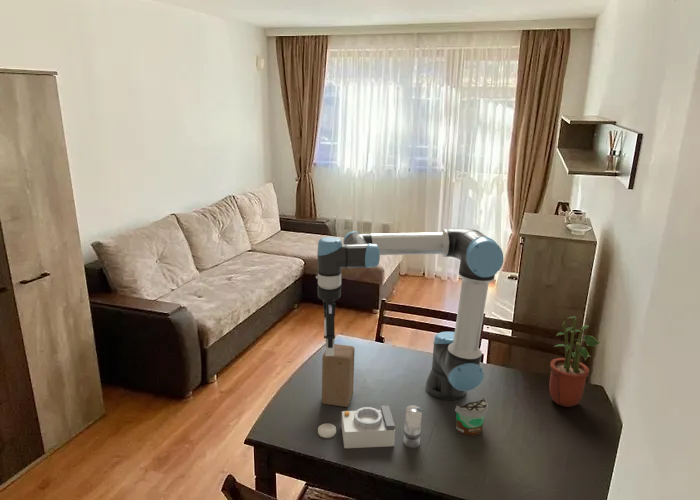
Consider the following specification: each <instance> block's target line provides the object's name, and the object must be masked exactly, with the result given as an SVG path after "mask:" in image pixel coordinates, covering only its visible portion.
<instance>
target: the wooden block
mask: <svg viewBox="0 0 700 500" xmlns="http://www.w3.org/2000/svg"><path fill="white" fill-rule="evenodd" d="M355 353H356V351H355V347H354V346H352V345H345V344H344V345H343V344H338V343H337V344H336V343H334V356H326V349H325V350H324V352H323V354H322V358H321V360H322V361H321V363H322V364H321V384H322V385H321V403H322V404H323V405H329V406H334V407H335V406H336V407H344V408H347V407H349V405H350V403H351V400H352V397H353V394H354V384H355V383H354V379H355V376H354V375H355Z"/></svg>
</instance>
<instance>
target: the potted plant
mask: <svg viewBox="0 0 700 500" xmlns="http://www.w3.org/2000/svg"><path fill="white" fill-rule="evenodd" d="M568 319H572V326H571V327H568V325H567V322H566V320H564V321H563V322H562V326H561V327H562V329H563V332H562V331H560V332H559V331H558V332H557V334H556V336H563V335H564V337H563V338H564V343H559V344H556V345H554V346H553V347H564V357H558V358H553V359H552V360H551V361H550V366H549V367H550V369H551V371H550V375H549V384H548V386H549V389H548V390H549V395H550V398H551V400H552V401H553V402H554V403H555V404H557V405H559V406H560V407H565V408H571V407H574V406H576V405H578V404H579V403H580V402H581V399H582V397H583V395H584V391H585V387H586V382H587V381H586V380H587V378H588V377H589V375H590V369H589V367H588V366H587V365H586V364H585V363H583V362H581V361H580V360H581V359H580V358H581V356H582V357H583V359H584V361H586V360H587V359H588V358H589V357H590V358H592V356H591V355H590V354H589V352H588V350H587V348H586V347H581V345H582V344H581V342H582V341H584V342H585V343H586V345H587V347H588V346H589V347H596V346H598V345H599V344H601V342H599V340H597V339H596V337H594V336H593V335H588V334H584V332H585V331H584V330H586V329H587V328H589V325H588V324H586V325H582V327H580V329H581V330H580V329H576V325H577V317H576V315H575V316H574V315H573V316H570V317H568ZM568 331H570V332H571V335H570V342H569V335H568ZM575 332H579V335H578V338H577V339H576V338H575V334H576V333H575ZM583 334H584V335H583ZM582 337H583V338H582ZM581 340H582V341H581ZM575 341H576V342H575ZM574 342H575V348H574ZM569 343H570V344H569ZM573 348H574V352H573Z"/></svg>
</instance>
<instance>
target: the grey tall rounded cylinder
mask: <svg viewBox="0 0 700 500" xmlns="http://www.w3.org/2000/svg"><path fill="white" fill-rule="evenodd" d="M422 416H423V409H422V408H421V407H420V406H418V405H414V404H413V405H408V406H407V407H405V416H404V428H403V429H404V431H403V445H405V446H406V447H409V448H417V447H419V446H420V444H421V433H422V419H423V417H422Z"/></svg>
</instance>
